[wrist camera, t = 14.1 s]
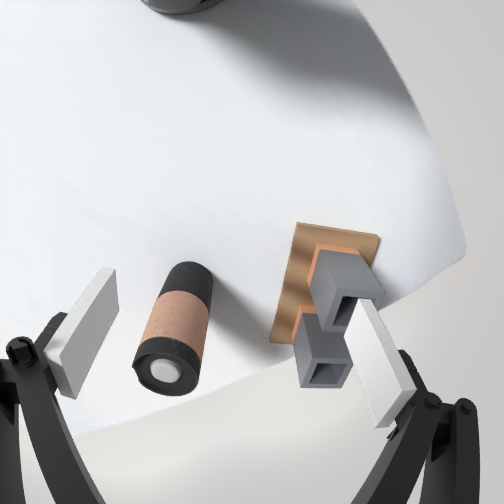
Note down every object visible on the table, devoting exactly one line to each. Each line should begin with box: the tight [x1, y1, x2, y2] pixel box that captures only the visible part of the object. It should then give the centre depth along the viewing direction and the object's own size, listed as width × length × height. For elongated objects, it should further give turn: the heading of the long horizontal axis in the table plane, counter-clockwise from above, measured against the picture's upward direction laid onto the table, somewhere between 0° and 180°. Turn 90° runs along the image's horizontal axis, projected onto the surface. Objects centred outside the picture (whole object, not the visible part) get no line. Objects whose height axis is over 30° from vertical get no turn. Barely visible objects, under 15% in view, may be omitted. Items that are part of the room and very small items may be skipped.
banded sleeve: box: [292, 305, 353, 388], centre depth 46 cm, size 6×6×12 cm
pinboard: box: [270, 222, 380, 344], centre depth 46 cm, size 22×13×8 cm, turn 172°
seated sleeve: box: [307, 243, 386, 333], centre depth 41 cm, size 6×6×12 cm
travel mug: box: [132, 261, 213, 396], centre depth 40 cm, size 8×8×20 cm
